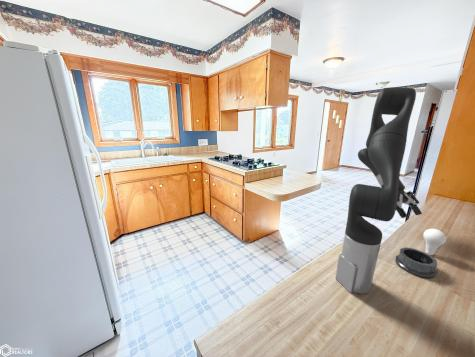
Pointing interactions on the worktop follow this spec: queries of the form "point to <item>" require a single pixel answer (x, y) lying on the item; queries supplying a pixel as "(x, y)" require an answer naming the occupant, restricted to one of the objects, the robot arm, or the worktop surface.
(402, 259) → the socket holder
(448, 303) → the worktop surface
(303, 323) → the worktop surface
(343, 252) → the robot arm
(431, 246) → the lightbulb
